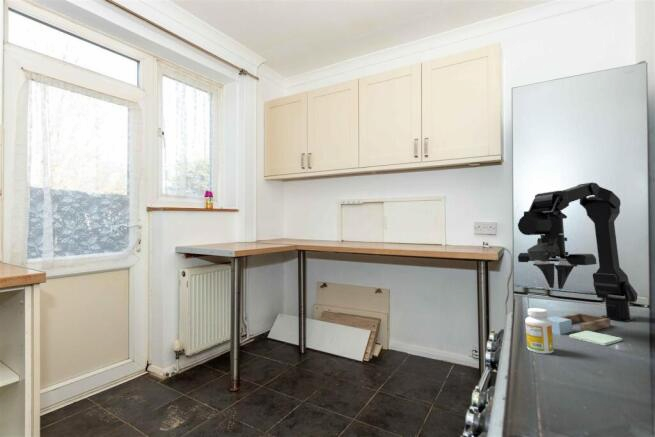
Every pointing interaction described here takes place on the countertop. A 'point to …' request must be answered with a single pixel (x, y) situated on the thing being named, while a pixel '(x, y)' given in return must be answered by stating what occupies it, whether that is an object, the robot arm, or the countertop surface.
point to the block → (560, 325)
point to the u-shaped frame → (589, 321)
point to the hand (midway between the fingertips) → (556, 288)
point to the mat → (595, 337)
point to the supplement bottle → (539, 331)
